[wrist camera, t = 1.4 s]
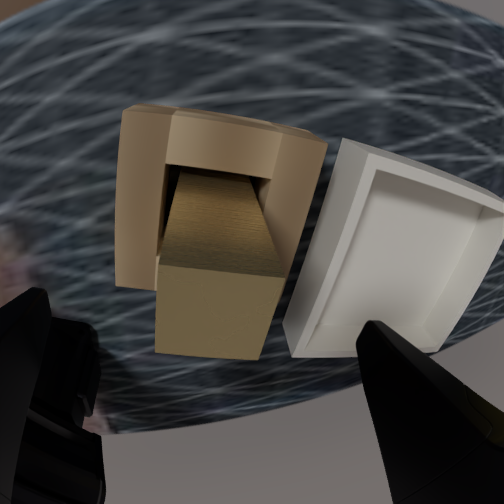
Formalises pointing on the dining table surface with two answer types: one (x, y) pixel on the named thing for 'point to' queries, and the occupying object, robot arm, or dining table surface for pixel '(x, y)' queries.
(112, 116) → the dining table surface
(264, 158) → the block
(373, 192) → the tray
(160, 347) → the pin
